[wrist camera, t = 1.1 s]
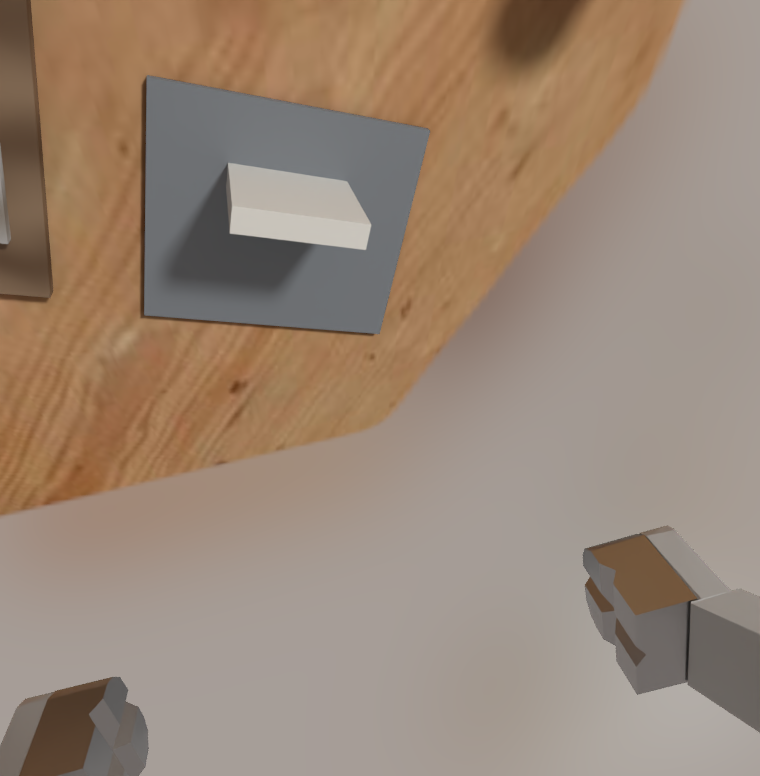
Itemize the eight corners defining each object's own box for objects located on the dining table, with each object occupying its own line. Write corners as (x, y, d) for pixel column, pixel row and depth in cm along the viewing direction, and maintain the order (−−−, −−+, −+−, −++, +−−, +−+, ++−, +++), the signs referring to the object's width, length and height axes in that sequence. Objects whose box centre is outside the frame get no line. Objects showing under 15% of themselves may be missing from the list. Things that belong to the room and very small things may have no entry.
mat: (147, 75, 37) (146, 77, 36) (427, 128, 42) (430, 130, 42) (144, 311, 46) (144, 315, 45) (377, 330, 51) (379, 333, 51)
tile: (228, 162, 40) (231, 205, 34) (347, 181, 43) (371, 224, 36) (225, 189, 41) (229, 235, 35) (342, 205, 44) (365, 252, 37)
